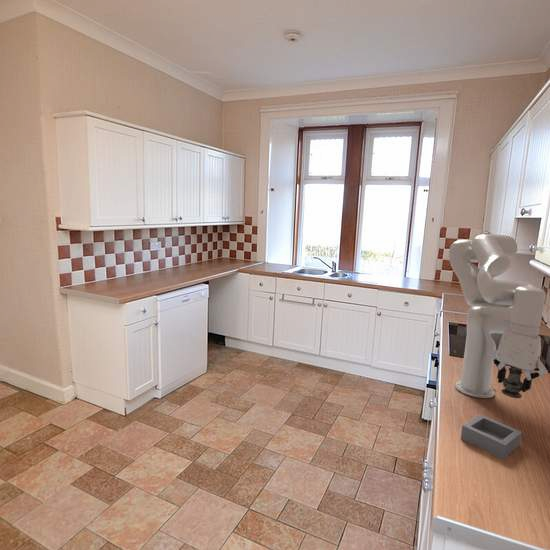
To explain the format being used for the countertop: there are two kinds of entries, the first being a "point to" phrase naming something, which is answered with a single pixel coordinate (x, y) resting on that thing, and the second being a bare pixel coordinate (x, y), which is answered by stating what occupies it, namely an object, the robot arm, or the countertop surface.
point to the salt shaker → (513, 383)
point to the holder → (491, 436)
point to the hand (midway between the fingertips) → (512, 385)
